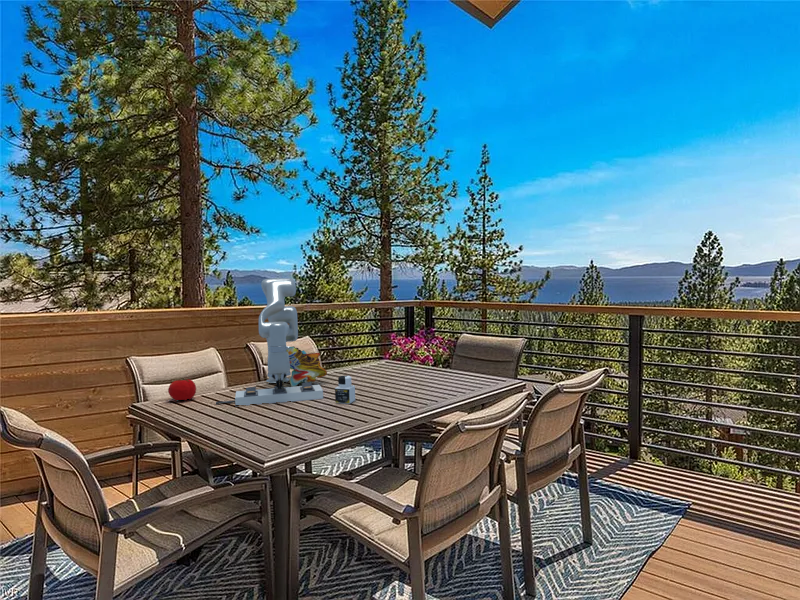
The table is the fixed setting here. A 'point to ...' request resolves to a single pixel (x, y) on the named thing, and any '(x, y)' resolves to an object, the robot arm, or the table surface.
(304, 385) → the rocker
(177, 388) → the tomato
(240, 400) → the rocker switch panel
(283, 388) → the rocker middle
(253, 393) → the rocker
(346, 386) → the medicine bottle
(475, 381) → the table surface
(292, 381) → the multicoloured irregular chunky piece
